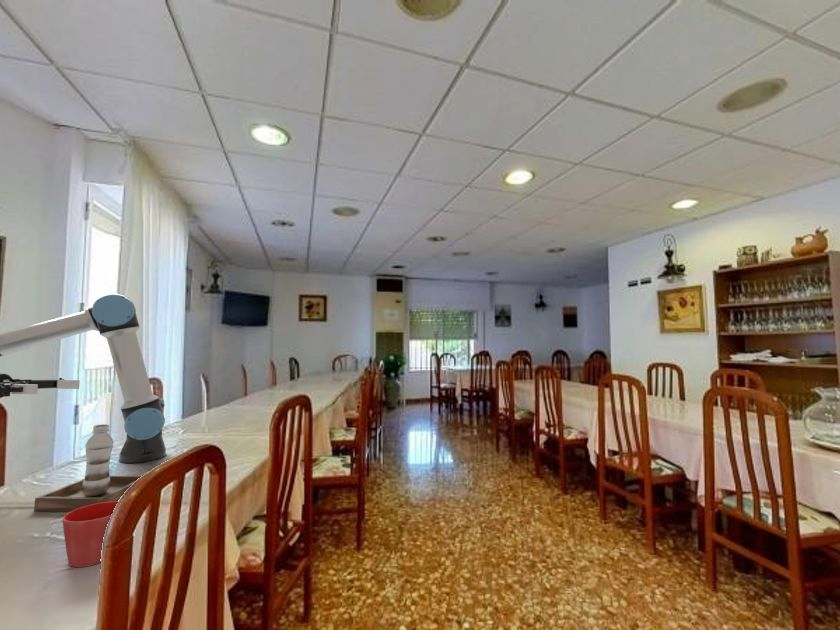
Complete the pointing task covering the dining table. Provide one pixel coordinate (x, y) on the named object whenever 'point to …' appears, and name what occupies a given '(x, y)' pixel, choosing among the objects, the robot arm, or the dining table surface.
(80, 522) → the flower pot
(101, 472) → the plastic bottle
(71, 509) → the walnut tray
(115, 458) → the dining table surface
